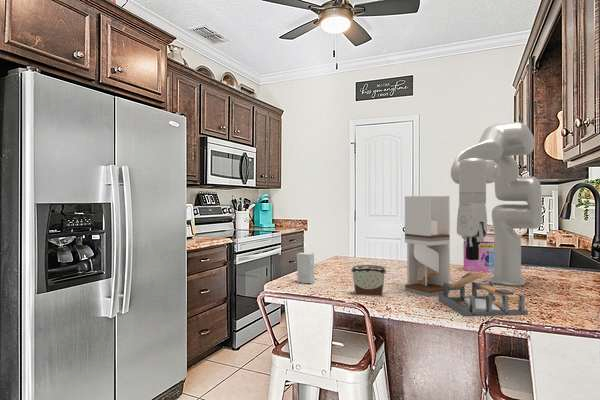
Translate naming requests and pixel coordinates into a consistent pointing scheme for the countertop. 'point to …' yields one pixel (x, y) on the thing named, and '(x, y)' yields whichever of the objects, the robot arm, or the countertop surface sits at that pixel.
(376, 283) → the food container
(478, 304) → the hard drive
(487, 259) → the gum box
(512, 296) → the strap
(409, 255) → the white dispenser tower
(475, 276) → the strap
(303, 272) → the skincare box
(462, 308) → the grey dish rack
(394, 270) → the countertop surface
